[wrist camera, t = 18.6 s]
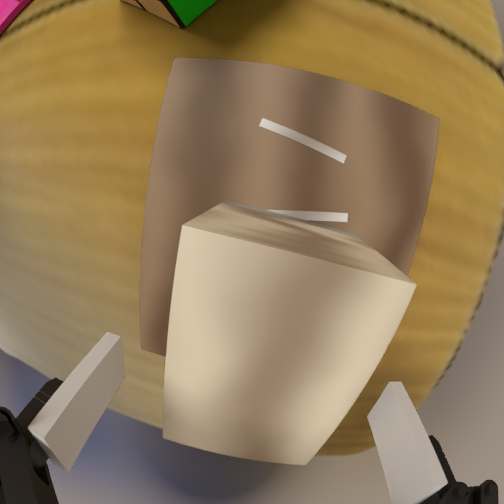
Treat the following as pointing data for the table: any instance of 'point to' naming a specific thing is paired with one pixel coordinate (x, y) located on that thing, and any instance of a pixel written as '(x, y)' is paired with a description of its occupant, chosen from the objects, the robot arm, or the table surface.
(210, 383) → the block
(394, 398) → the robot arm
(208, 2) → the puzzle cube
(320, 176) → the board
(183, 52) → the table surface
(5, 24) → the file sorter
